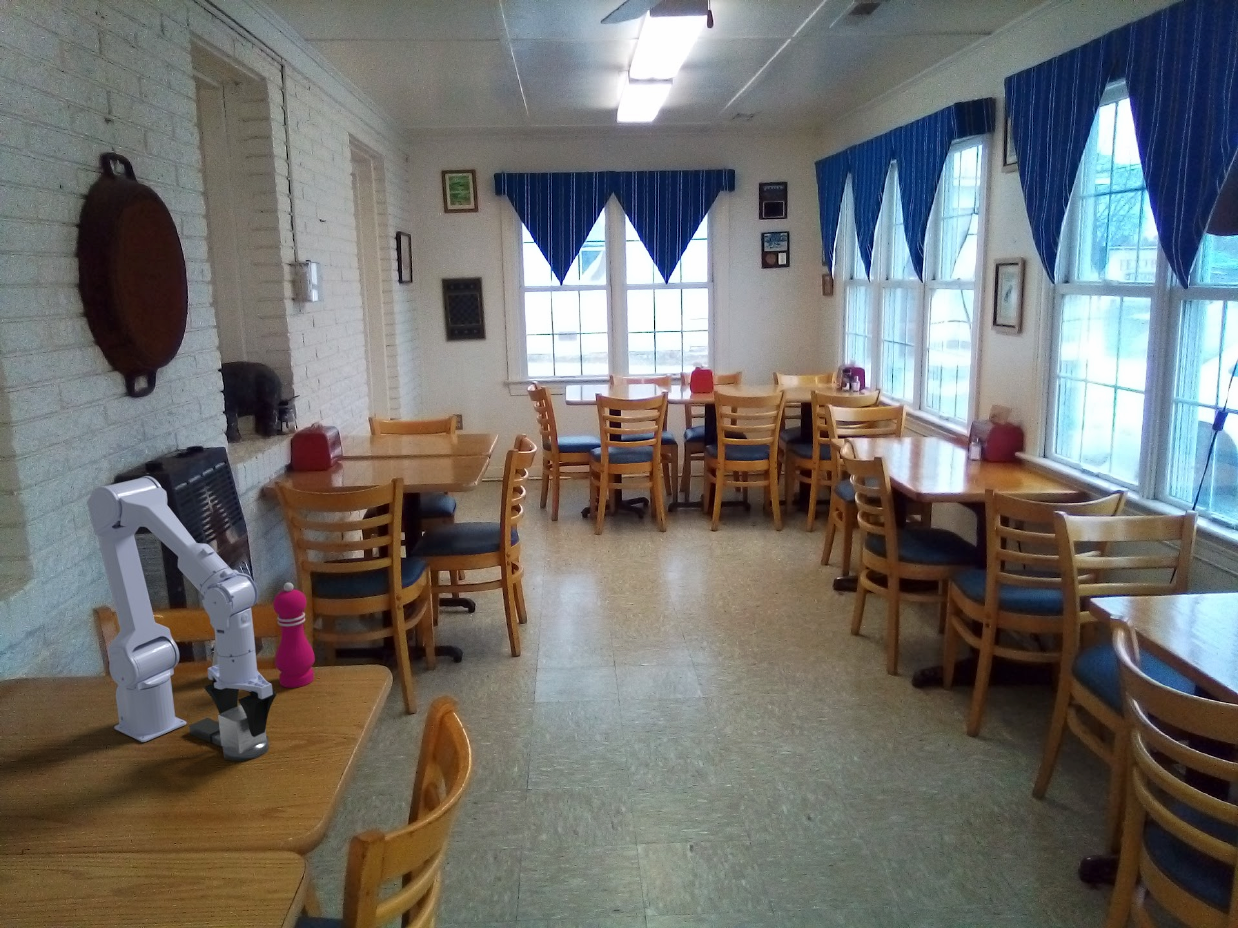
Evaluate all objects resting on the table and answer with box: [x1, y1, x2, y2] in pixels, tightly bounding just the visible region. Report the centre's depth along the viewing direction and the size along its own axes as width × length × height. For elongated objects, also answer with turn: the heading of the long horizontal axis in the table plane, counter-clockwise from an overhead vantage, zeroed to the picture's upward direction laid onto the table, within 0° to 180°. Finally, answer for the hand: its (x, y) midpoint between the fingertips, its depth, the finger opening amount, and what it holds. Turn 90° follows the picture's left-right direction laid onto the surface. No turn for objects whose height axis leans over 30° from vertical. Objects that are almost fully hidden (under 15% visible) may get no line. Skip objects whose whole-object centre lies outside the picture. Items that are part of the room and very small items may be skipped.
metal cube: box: [217, 704, 267, 754], centre depth 152 cm, size 5×5×6 cm
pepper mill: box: [272, 582, 316, 689], centre depth 178 cm, size 7×7×20 cm
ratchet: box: [188, 717, 270, 762], centre depth 155 cm, size 17×7×4 cm, turn 56°
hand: (244, 728), depth 152 cm, fingers open, 7 cm apart
